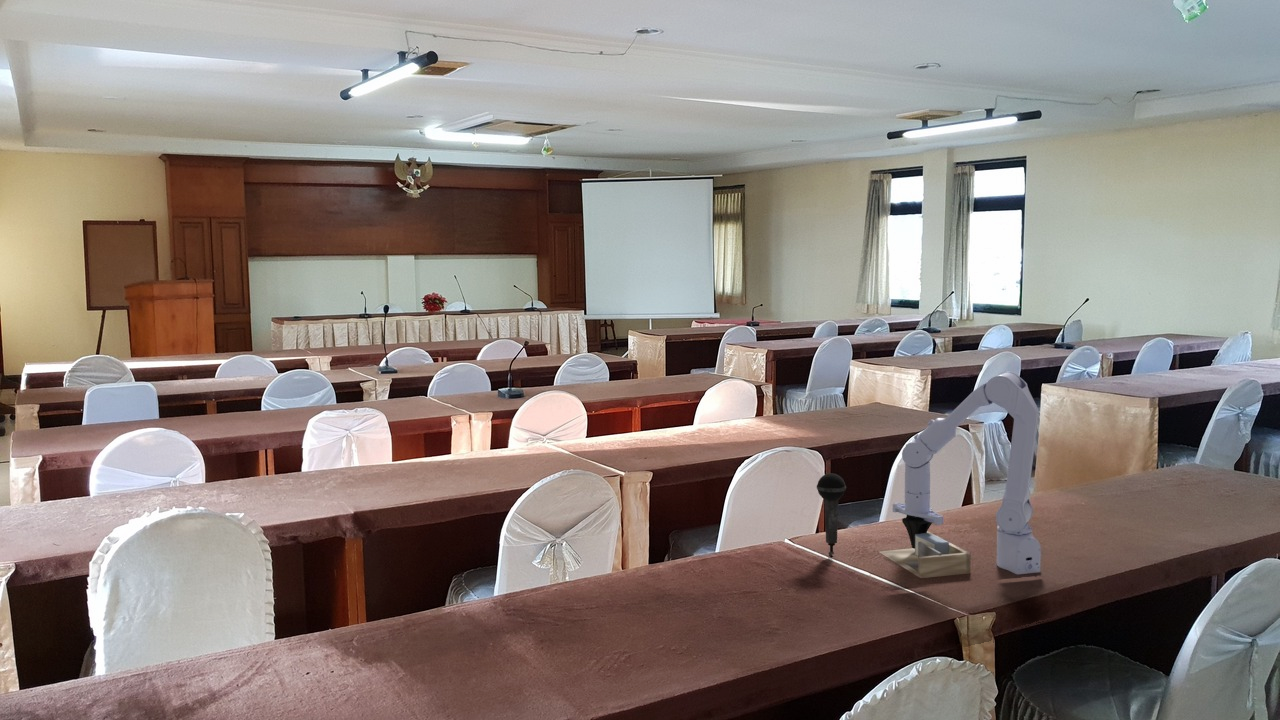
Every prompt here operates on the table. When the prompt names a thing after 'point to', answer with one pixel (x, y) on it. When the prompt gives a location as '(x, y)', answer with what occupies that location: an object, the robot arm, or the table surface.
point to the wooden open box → (931, 560)
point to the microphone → (831, 504)
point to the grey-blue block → (932, 543)
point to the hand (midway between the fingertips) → (917, 547)
